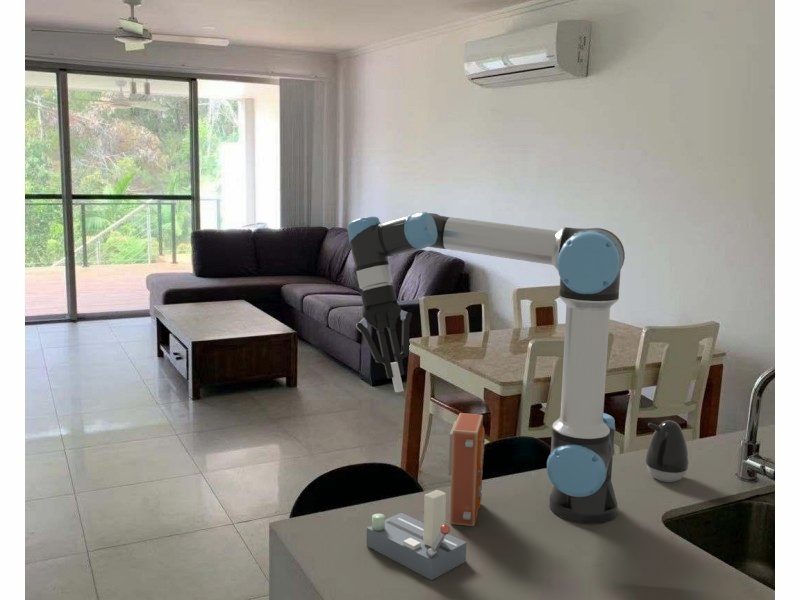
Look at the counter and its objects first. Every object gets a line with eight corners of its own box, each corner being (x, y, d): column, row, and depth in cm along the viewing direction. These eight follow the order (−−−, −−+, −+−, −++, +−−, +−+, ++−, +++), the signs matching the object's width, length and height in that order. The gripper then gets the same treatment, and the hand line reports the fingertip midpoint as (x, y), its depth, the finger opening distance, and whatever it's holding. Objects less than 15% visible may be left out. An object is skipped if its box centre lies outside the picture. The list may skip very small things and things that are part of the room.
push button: (369, 527, 151) (369, 516, 150) (378, 523, 152) (378, 512, 152) (378, 531, 149) (378, 520, 148) (387, 527, 151) (387, 516, 150)
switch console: (366, 545, 152) (366, 524, 151) (400, 530, 159) (401, 509, 158) (431, 580, 139) (432, 556, 139) (465, 561, 146) (466, 538, 146)
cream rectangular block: (423, 543, 145) (424, 494, 143) (435, 537, 147) (436, 489, 145) (432, 547, 143) (433, 498, 141) (444, 541, 145) (446, 493, 144)
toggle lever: (424, 552, 140) (440, 524, 137) (431, 548, 142) (447, 521, 138) (430, 559, 139) (446, 531, 136) (437, 555, 141) (453, 528, 137)
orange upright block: (483, 500, 174) (477, 529, 160) (453, 497, 175) (444, 526, 161) (486, 412, 171) (480, 434, 156) (456, 410, 172) (447, 431, 157)
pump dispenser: (640, 469, 195) (644, 413, 192) (681, 471, 193) (686, 415, 191) (647, 484, 185) (652, 426, 182) (691, 487, 183) (696, 428, 181)
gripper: (401, 283, 170) (423, 384, 169) (346, 294, 167) (368, 397, 166) (408, 279, 162) (431, 385, 162) (350, 291, 160) (373, 399, 159)
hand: (399, 391), depth 164 cm, fingers closed
